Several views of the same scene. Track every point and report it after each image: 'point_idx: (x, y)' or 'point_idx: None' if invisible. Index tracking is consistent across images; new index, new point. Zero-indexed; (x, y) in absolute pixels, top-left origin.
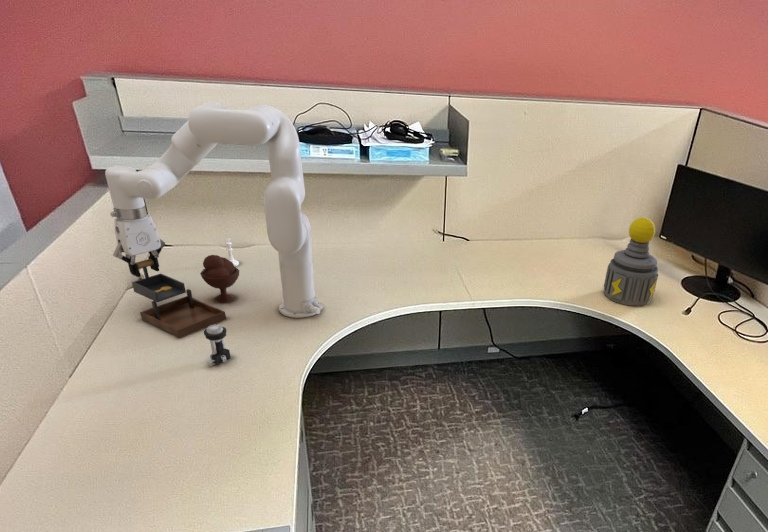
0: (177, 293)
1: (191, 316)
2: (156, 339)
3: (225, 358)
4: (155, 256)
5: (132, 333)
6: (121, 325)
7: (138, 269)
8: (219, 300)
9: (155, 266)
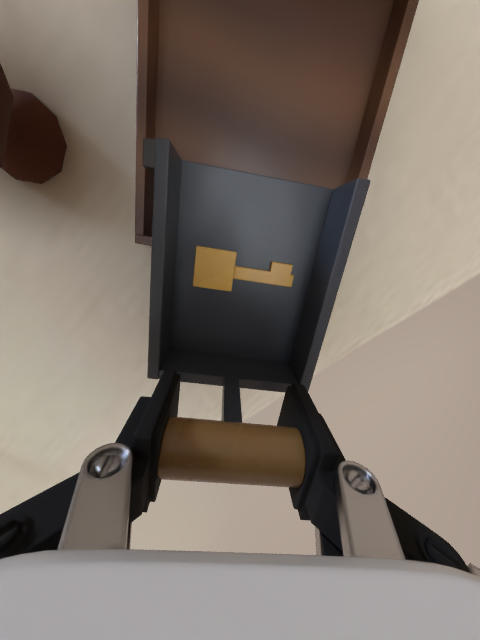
0: (222, 168)
1: (235, 112)
2: (431, 92)
3: None
4: (122, 465)
5: (413, 216)
6: (377, 291)
7: (303, 416)
8: (52, 129)
9: (173, 396)
